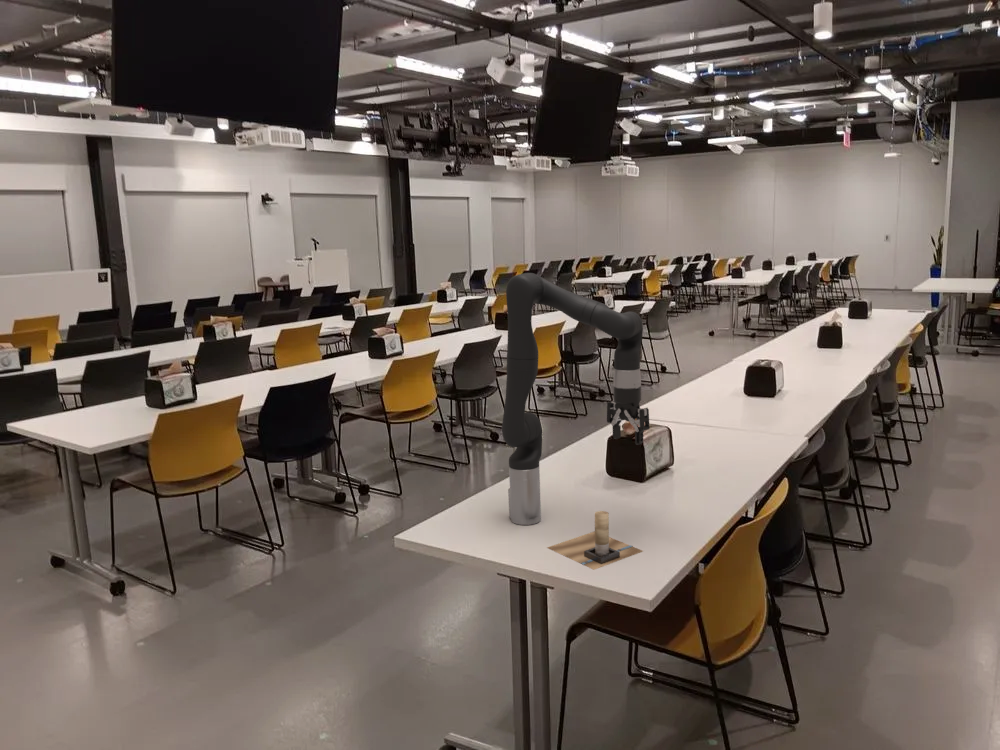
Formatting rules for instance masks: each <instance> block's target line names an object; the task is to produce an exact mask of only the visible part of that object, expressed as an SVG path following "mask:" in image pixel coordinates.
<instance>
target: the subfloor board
mask: <svg viewBox="0 0 1000 750" xmlns="http://www.w3.org/2000/svg"><path fill="white" fill-rule="evenodd" d="M594 547H595V530H594V531H592V532H589V533H586V534H583V535H580V536H579V535H578V536H577V537H574V538H570V539H568V540H565V541H563V542H560V543H556V544H554V545H551V546H547V547H546V549H549V550H551V551H553V552H555V553H557V554H559V555H561V556H563V557H566V558H567V559H570V560H572V561H574V562H576V563H579V564H581V565H583V566H585V567H588V568H589V569H591V570H594V571H595V570H597V569H601V568H603V567H605V566H606V567H607V566H608V565H611V564H613V563H616V562H618V561H621V560H625V559H626V558H629V557H632V556H635V555H637V554H640V553H642V552H644V550H642V549H640V548H637V547H635V546H633V545H631V544H627V543H625V542H623V541H620V540H618V539H615V538H613V537H610V536H609V548H611V549H614V550H616V551H618V552H620V557H619V558H617V559H614V560H611V561H609V562H606V563H603V564H600V563H598V562H595V561H593V560H591V559H589V558H587V557H584V551H586V550H589V549H591V548H594Z"/></svg>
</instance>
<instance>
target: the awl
mask: <svg viewBox="0 0 1000 750" xmlns="http://www.w3.org/2000/svg"><path fill="white" fill-rule="evenodd" d="M609 518H610V517H609V512H608V511H605V510H598V511H595V512H594V531H595V554H596V555H598V556H600V557H603V556H606V555H608V554H609V537H610V536H609V535H610V532H609V531H610V528H609V524H610V523H609V521H610V520H609Z"/></svg>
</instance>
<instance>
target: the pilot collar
mask: <svg viewBox="0 0 1000 750" xmlns="http://www.w3.org/2000/svg"><path fill="white" fill-rule="evenodd" d="M584 557H587V558H589V559H591V560H593V561H595V562H598V563H600V564H603V563H606V562H609V561H611V560H614V559H617V558H619V557H620V552H618V551H616V550H614V549H611V548H609V554H608V555H606V556H603V557H600V556H598V555H596V554H595V547H594V548H591V549H589V550H586V551H584Z"/></svg>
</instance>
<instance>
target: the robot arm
mask: <svg viewBox="0 0 1000 750" xmlns="http://www.w3.org/2000/svg"><path fill="white" fill-rule="evenodd" d="M505 290H506V291H505V295H506V296H505V298H506V310H507V348H506V349H507V351H506V381H505V382H506V383H505V384H506V387H505V400H504V408H503V416H502V424H501V430H502V431H501V433H502V437H503V440H504V442H505V443H506V444H507V446H509V447H510V448H515V450H514V451H513V453H512V454H511V455H510V456H509V457H508V473H509V474H508V476H509V479H508V480H509V488H508V489H507V490H508V492H507V493H508V515H509V516H508V518H509V519H510V522H512V523H513V524H516V525H520V526H521V525H522V526H528V525H529V526H531V525H534V524H537V523H540V522H541V520H542V509H541V506H542V505H541V479H540V477H541V474H540V461H541V457H542V454H543V453H542V452H543V449H542V448H543V447H542V445H543V429H542V423H541V421H540V419H539V417H538V416H537V414H535V413H533V412H530V411H529V412H528V411H527V412H525V411H526V404H527V399H528V397H529V395H530V392H531V390H532V388H533V386H534V383H535V382H536V379H537V376H538V371H539V347H538V344H537V340H536V337H535V334H534V332H533V325H532V317H533V314H532V313H533V306H534V304H536V305H542V306H547V307H551V308H553V309H556V310H558V311H560V312H561V313H563V314H565V315H566V316H568V317H569V318H571V319H573V320H575V321H577V322H579V323H582V324H584V325H587V326H590V327H591V328H595V329H598V330H599V331H601V332H603V333H605V334H606V335H609V336H611V337H613V338H616V339H617V347H616V348H615V350H614V353H613V354H614V355H613V360H614V361H613V367H614V369H613V377H612V378H613V400H612V401H608V402H607V403H606V404H607V405H606V422H607V423H609V424H610V425H611V426H612V438H613V439H615V440H618V439H621V437H622V436H621V435H622V434H621V433H622V432H621V431H622V430H621V423H622V421H625V422H629V423H630V425H631V426H632V427H633V429H634V430H635V432H634V443H635V445H636V446H639V445H642V444H643V442H644V432H645V431H647V430H650V428H651V427H650V412H649V410H650V409H649V408H647V407H644V408H641V406H640V402H641V401H642V374H641V356H640V354H641V353H640V351H641V345H642V339H643V331H644V329H643V328H644V325H643V321H642V318H641V316H640V315H639V314H638V313H637V312H635V311H626V312H618V311H616V310H614V309H611V308H610V307H609V305H607V304H605V303H602V302H600V301H598V300H595V299H592V298H588V297H586V296H583V295H580V294H577V293H575V292H572V291H569V290H567V289H564V288H562V287H560V286H558V285H556V284H554V283H553V282H550V280H549V281H548V280H547V279H546V278H544V277H541V276H540V275H538V274H536V273H533V272H524V273H519V274H516V275H514V276H512V277H511V278H510V279H509V281H507V285H506V288H505Z"/></svg>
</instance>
